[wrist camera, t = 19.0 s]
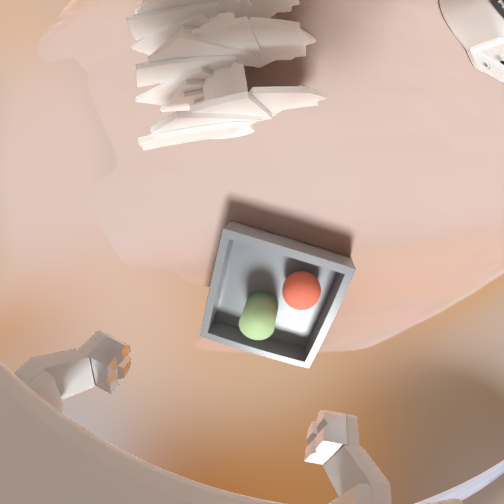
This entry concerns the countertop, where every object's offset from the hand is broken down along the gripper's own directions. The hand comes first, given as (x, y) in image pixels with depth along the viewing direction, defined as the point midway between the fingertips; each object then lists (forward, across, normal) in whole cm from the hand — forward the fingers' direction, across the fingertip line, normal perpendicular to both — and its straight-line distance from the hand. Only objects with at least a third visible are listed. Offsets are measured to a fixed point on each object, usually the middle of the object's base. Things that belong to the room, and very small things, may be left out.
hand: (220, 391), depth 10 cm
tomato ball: (+26, -4, +6) cm, 28 cm away
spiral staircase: (+27, +11, -20) cm, 36 cm away
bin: (+27, -2, +10) cm, 29 cm away
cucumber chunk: (+26, 0, +12) cm, 29 cm away
